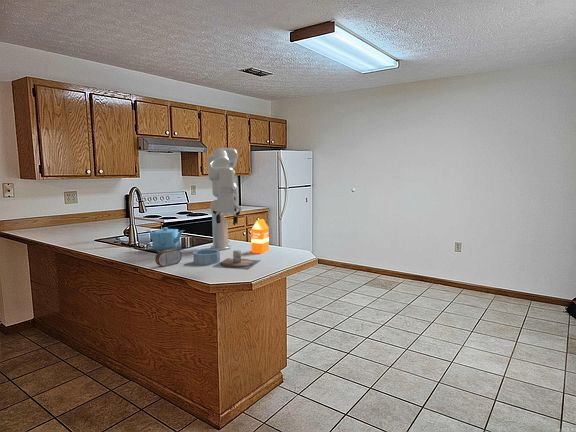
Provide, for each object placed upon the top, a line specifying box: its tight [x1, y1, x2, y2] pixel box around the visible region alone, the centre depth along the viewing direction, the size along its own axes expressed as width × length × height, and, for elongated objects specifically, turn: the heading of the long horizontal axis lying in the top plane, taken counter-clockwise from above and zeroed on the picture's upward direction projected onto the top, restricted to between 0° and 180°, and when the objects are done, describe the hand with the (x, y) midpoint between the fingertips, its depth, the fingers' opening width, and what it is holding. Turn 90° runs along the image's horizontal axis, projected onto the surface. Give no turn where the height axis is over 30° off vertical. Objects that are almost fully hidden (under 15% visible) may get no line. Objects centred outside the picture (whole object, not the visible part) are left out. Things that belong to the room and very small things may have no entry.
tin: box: [154, 248, 183, 267], centre depth 208 cm, size 15×3×8 cm, turn 141°
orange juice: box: [250, 218, 270, 254], centre depth 241 cm, size 8×9×20 cm
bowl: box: [192, 248, 221, 266], centre depth 214 cm, size 14×14×6 cm
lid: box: [220, 250, 253, 269], centre depth 209 cm, size 17×17×7 cm
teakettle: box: [145, 226, 186, 253], centre depth 244 cm, size 19×19×15 cm
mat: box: [212, 257, 261, 270], centre depth 209 cm, size 20×20×1 cm
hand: (226, 223), depth 206 cm, fingers open, 9 cm apart
